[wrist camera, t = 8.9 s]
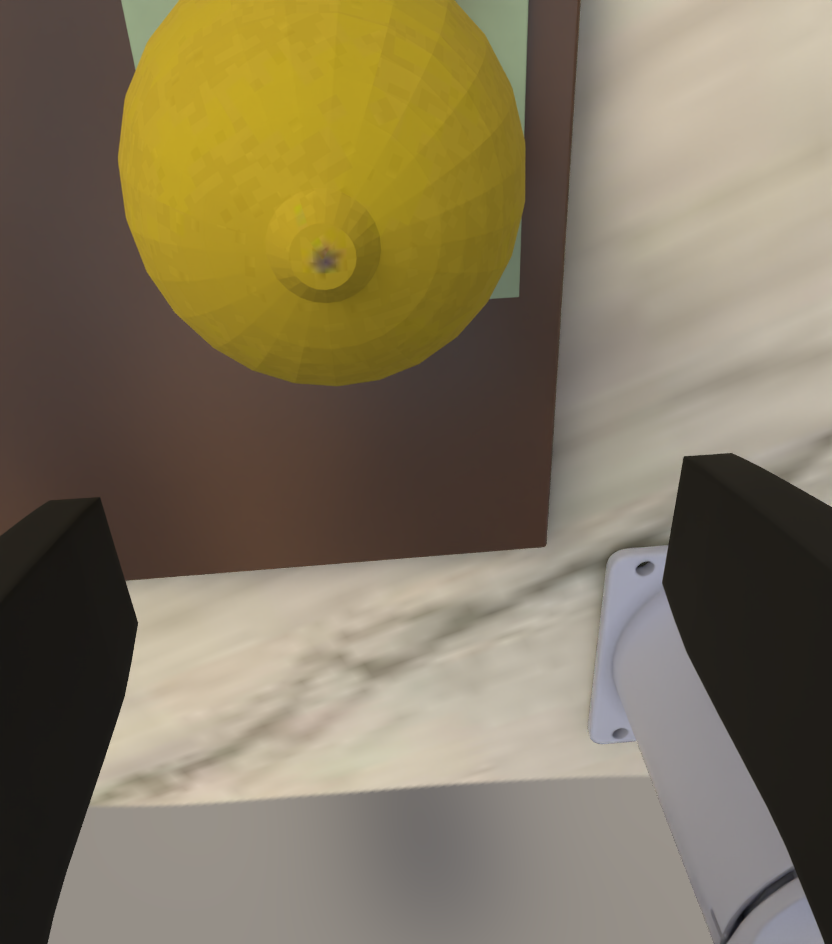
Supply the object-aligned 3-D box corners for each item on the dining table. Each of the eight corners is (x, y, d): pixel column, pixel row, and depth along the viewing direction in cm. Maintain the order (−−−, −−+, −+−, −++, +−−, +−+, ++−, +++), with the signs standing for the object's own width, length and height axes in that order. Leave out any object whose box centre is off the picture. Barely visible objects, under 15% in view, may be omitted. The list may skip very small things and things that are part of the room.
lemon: (280, 317, 17) (237, 554, 10) (116, 48, 14) (-106, 122, 7) (523, 196, 16) (660, 367, 9) (400, -120, 13) (464, -224, 6)
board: (575, -178, 14) (597, -193, 12) (537, 521, 22) (548, 552, 20) (-644, -132, 13) (-745, -143, 12) (-210, 580, 21) (-244, 616, 20)
